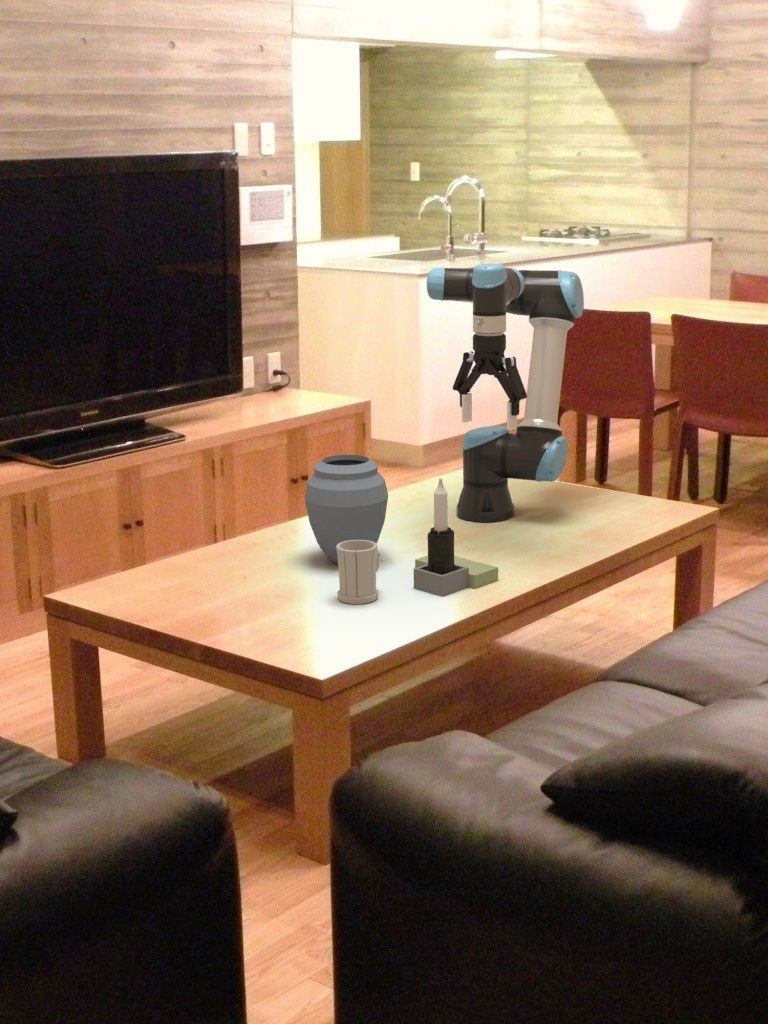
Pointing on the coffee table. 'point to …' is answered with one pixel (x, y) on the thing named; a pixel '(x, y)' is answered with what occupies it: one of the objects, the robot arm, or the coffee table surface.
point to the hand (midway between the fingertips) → (489, 425)
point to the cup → (357, 571)
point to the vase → (345, 501)
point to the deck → (453, 576)
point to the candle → (440, 536)
